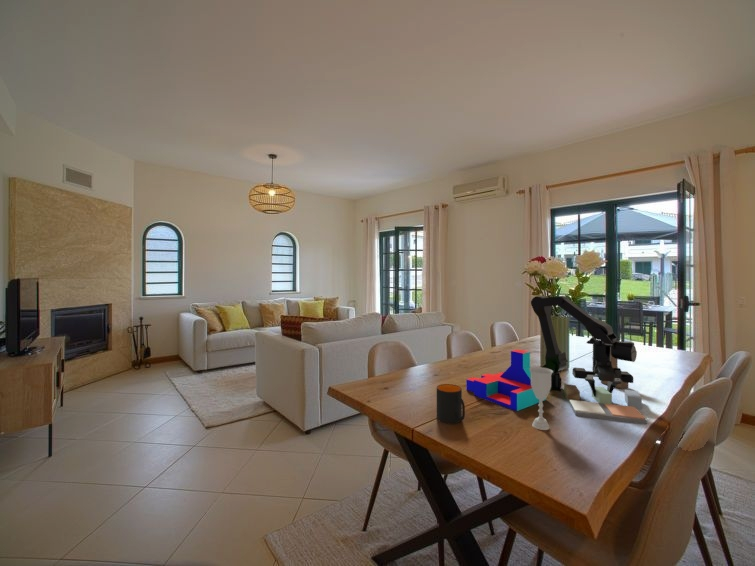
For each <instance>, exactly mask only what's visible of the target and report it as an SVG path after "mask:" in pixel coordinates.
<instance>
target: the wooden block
mask: <svg viewBox="0 0 755 566" xmlns="http://www.w3.org/2000/svg"><path fill="white" fill-rule="evenodd" d="M618 360H619V359H615V358H614V357H612V355H611V363H612V368H619V367H618ZM620 382H621V384H618V385H616V386H615V388H617V389H621V390H625V389H628V388H629V383H626V382H623V381H622V380H621V379H620ZM600 383H601V384H604V385H606V386H607V385H608V381H600Z"/></svg>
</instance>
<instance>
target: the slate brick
mask: <svg viewBox="0 0 755 566" xmlns="http://www.w3.org/2000/svg"><path fill="white" fill-rule="evenodd" d="M642 399H643V398H642V396H641V395H640V392H639V391H637V390H631V389H624V402H625V403H626V406H632V407H635V408H636V409H641V410H642V409H643V407H642V405H643V402H642V401H643V400H642Z"/></svg>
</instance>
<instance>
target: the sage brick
mask: <svg viewBox="0 0 755 566" xmlns="http://www.w3.org/2000/svg"><path fill="white" fill-rule="evenodd" d="M595 392H596V397H594V395H593V393H592V392H591V397H592V398H593V399H594V400H595V401H596V403H603V404H604V403H605V404H613V395H612V394H611V393H610V392H609V391H607V388H605V387H604V386H595Z"/></svg>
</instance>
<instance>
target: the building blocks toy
mask: <svg viewBox="0 0 755 566" xmlns="http://www.w3.org/2000/svg"><path fill="white" fill-rule="evenodd" d="M530 368H532V367H531V352H530V351H529V350H528V351H527V350H522V349H513V350H511V351H510V366H508V368H506V370H505V371H502V372H501V371H500V372H498V373H495V374H491V373H485V374H481V375H480V378H477V377H475V376H473V377H470V378H466V391H467V390H469V391H468V392H470V391H472V392H471V393H473V392H474V393H473V396H474V395H476V396H475V397H477V396H478V397H477V398H481V399H482V398H483V400H485V399H486V400H485V401H488V400H489V401H488V402H491V401H492V402H491V403H493V402H495V403H494V404H496V403H497V405H499V406H501V405H502V407H505V408H507V409H510V410H513V411H516V412H519V411H521V410H523V409H526V408H528V407H531V406H533V405H534V406H535V405H536V404H539V399H537V398H536V396H535V394H534V392H533V389H532V386H531V372H530V370H529V369H530ZM546 400H547V398H546V399H544V400H543V401H546ZM543 401H542V402H543Z"/></svg>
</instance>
